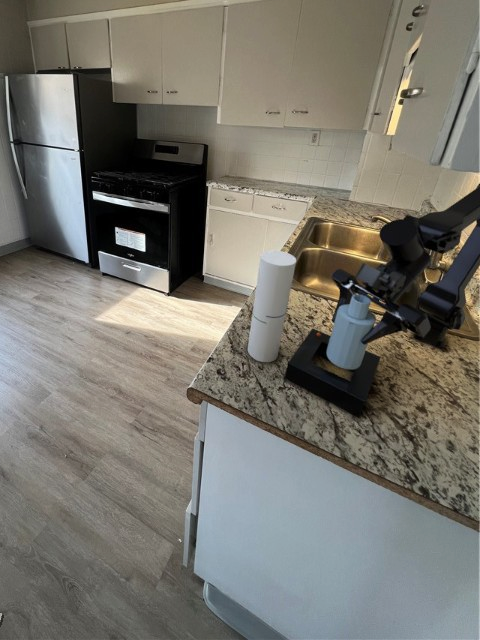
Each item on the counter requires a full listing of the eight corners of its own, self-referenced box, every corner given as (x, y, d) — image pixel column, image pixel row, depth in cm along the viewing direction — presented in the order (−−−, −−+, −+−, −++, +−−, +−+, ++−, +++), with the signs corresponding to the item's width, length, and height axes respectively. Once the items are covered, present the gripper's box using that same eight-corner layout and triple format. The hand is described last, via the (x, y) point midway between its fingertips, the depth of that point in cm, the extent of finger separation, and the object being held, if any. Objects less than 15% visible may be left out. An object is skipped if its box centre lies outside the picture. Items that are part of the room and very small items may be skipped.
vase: (331, 342, 69) (346, 286, 63) (363, 355, 66) (383, 297, 60) (322, 359, 64) (338, 300, 58) (357, 374, 61) (378, 313, 55)
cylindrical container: (278, 364, 71) (297, 267, 61) (247, 359, 73) (260, 263, 62) (277, 343, 78) (294, 252, 67) (248, 339, 79) (260, 248, 68)
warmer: (309, 342, 78) (313, 326, 76) (375, 372, 70) (381, 354, 68) (284, 378, 68) (288, 360, 66) (359, 418, 59) (366, 399, 57)
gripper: (346, 232, 64) (296, 290, 64) (446, 273, 49) (379, 348, 49) (362, 260, 71) (316, 312, 71) (454, 303, 55) (396, 369, 56)
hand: (346, 332), depth 61 cm, fingers closed on vase, 7 cm apart
